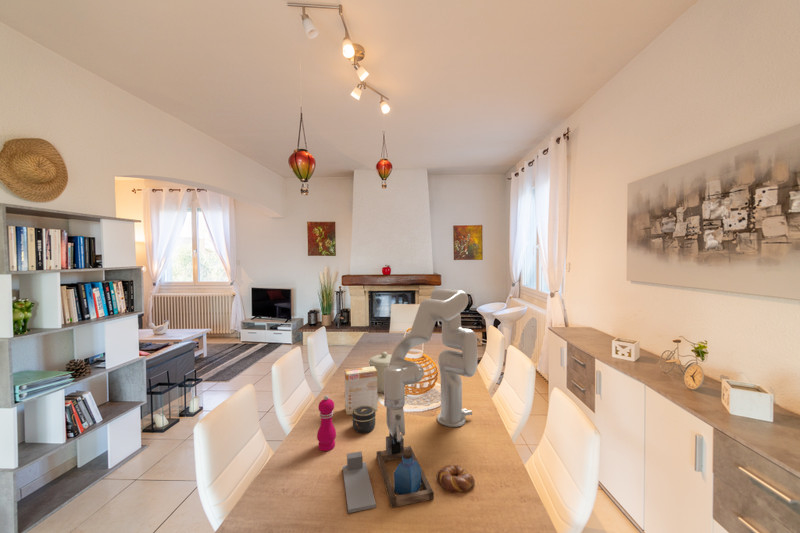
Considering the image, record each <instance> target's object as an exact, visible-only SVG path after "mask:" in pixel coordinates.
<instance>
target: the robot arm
mask: <svg viewBox="0 0 800 533" xmlns="http://www.w3.org/2000/svg"><path fill="white" fill-rule="evenodd" d="M468 304H469V296H468V293H466V292H465V291H464V290H461V289H450V288H435V289H433V290H432V291H431V293H430V298H426V299H423V300H422V301H421V302H420V303H419V305H418V309H417V311H416V314H415V318H414V320H413V322H412V326H411V329H410V331H409V333H408V334H407V335H406V336H404V337H403V338H402V339H401V340H400V341H399V342H398V344H397V345H396V346H395V347H394V350H393V351H392V354H391V355H392V356H391V359H390V363H389V366H388V367H386V368H385V370H384V394H383V395H384V396H383V400H384V402H383V405H384V407H385V409H386V414H385V416H386V426H387V429H388V433H389V434H388V436H392V454H398V453H400V442H401V438H400V435H401V434H402V436H404V437H405V435H406V424H405V423H406V422H405V410H404V407H405V402H406V400H405V399H406V397H405V396H406V392H405V391H406V389H405V388H406V386H408V385H415V384H418V383H419V382H420V381H421V380H422V379H423V378H424V375H425V372H424V371H425V370H424V368H423V367H422V365H421V364H419V363H417V362H413V361H411V360H407V359H405V358H406V356H407V354H408V353H409V352H410V350H412V349H413V348H414V347H416V346H419V345H421V344H425V343H428V342H430V341H431V338H432V335H433V332H434V329H435V325H436V323H437V322H441V342H442V344H443V345H444V346H445V347H447V348H451V349H444V350H442V351H441V352H440V353H439V354H438V357H437V358H438V359H437V362H438V368H439V376H440V412H439V413H438V414H437V417H436V418H437V422H438V423H439V424H441V425H442V426H444V427H449V428H459V427H461V426H463V425H465V423H466V416H472V415H473V411H472V410H471V409H470V410H468V409H467V408H463V381H462V378H461V376H463V377H466V378H471V377H473V376H474V375H475V374H476V372H477V368H478V337H477V334H476V332H475V331H474V330H472V329H471V328H466V327H465V328H463V327H462V317H461V313H462V312H463V311H464V310H465V309H466V308H467V306H468ZM453 349H454V350H453ZM394 437H396V438H395V439H394Z"/></svg>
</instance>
